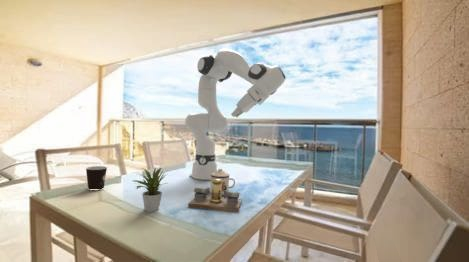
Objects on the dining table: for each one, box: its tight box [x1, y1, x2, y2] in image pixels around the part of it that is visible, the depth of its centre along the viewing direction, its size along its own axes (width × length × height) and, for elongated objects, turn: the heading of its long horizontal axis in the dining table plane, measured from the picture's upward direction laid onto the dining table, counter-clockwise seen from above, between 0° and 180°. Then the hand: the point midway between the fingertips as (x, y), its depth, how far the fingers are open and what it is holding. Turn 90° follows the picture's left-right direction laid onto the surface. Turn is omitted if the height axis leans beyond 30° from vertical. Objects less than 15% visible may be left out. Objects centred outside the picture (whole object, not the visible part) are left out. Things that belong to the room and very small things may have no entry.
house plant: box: [132, 167, 168, 213], centre depth 97 cm, size 14×14×16 cm
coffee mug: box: [85, 165, 108, 190], centre depth 120 cm, size 12×9×10 cm
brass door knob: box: [210, 178, 223, 203], centre depth 104 cm, size 5×5×9 cm
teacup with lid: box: [210, 168, 236, 196], centre depth 122 cm, size 12×9×12 cm
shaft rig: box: [187, 186, 243, 213], centre depth 104 cm, size 12×20×7 cm, turn 81°
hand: (233, 116), depth 117 cm, fingers open, 8 cm apart
